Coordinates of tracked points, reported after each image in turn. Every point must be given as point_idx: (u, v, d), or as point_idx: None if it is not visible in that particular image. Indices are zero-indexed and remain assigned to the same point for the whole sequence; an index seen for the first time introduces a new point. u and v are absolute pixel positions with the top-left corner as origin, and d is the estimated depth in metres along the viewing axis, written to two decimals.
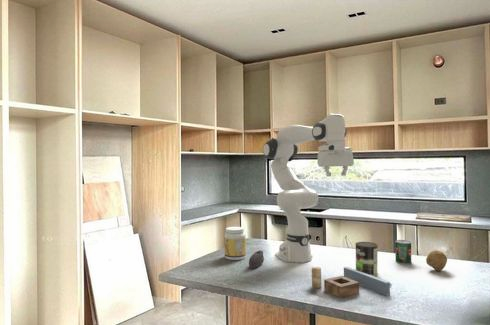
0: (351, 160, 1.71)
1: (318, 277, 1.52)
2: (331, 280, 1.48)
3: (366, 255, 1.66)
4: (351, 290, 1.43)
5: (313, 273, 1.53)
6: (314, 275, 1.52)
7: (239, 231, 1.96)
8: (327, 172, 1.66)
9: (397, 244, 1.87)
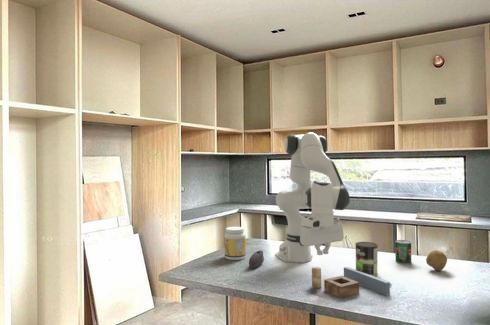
0: (341, 234, 1.45)
1: (318, 277, 1.52)
2: (331, 280, 1.48)
3: (366, 255, 1.66)
4: (351, 290, 1.43)
5: (313, 273, 1.53)
6: (314, 275, 1.52)
7: (239, 231, 1.96)
8: (318, 250, 1.41)
9: (397, 244, 1.87)
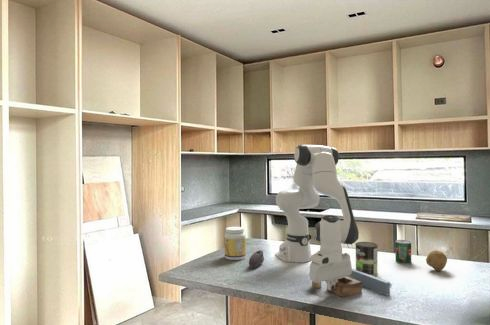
0: (349, 269, 1.47)
1: None
2: None
3: (366, 255, 1.66)
4: (354, 289, 1.44)
5: None
6: None
7: (239, 231, 1.96)
8: (328, 285, 1.44)
9: (397, 244, 1.87)
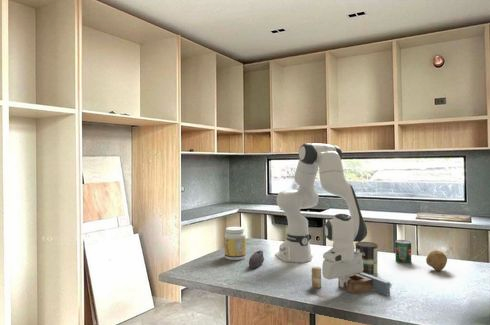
0: (361, 266, 1.50)
1: (318, 277, 1.52)
2: None
3: (366, 255, 1.66)
4: (365, 286, 1.47)
5: (313, 273, 1.53)
6: (314, 275, 1.52)
7: (239, 231, 1.96)
8: (341, 282, 1.47)
9: (397, 244, 1.87)
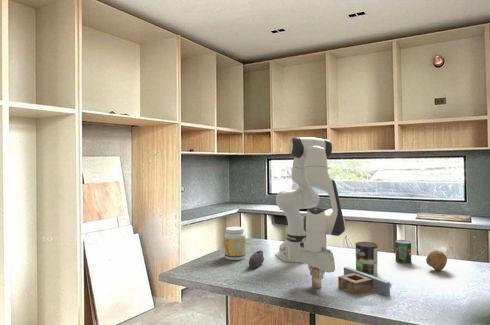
0: (326, 265, 1.45)
1: None
2: (345, 277, 1.52)
3: (367, 255, 1.66)
4: (365, 286, 1.47)
5: (313, 273, 1.53)
6: (314, 275, 1.52)
7: (239, 231, 1.96)
8: None
9: (397, 244, 1.87)
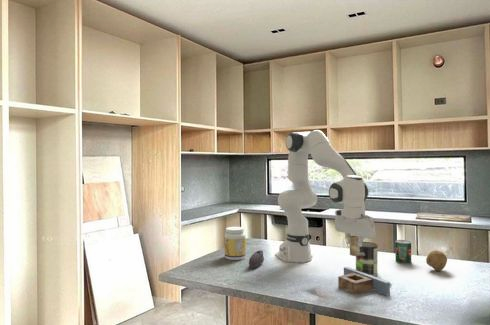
0: (366, 231, 1.43)
1: (356, 245, 1.49)
2: (345, 277, 1.52)
3: (366, 255, 1.66)
4: (365, 286, 1.47)
5: (351, 241, 1.50)
6: (352, 243, 1.49)
7: (239, 231, 1.96)
8: None
9: (397, 244, 1.87)
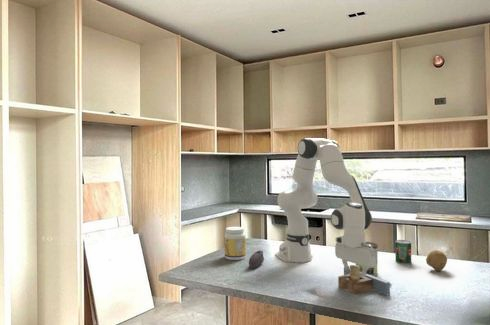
0: (367, 261, 1.43)
1: (357, 275, 1.49)
2: (345, 277, 1.52)
3: None
4: (365, 286, 1.47)
5: (352, 271, 1.50)
6: (353, 273, 1.50)
7: (239, 231, 1.96)
8: None
9: (397, 244, 1.87)
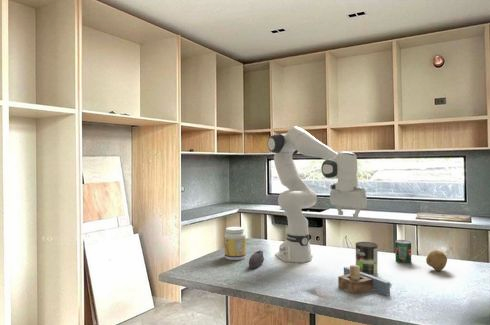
0: (358, 202, 1.54)
1: (357, 275, 1.49)
2: (345, 277, 1.52)
3: (367, 255, 1.66)
4: (365, 286, 1.47)
5: (352, 271, 1.50)
6: (353, 273, 1.50)
7: (239, 231, 1.96)
8: None
9: (397, 244, 1.87)
